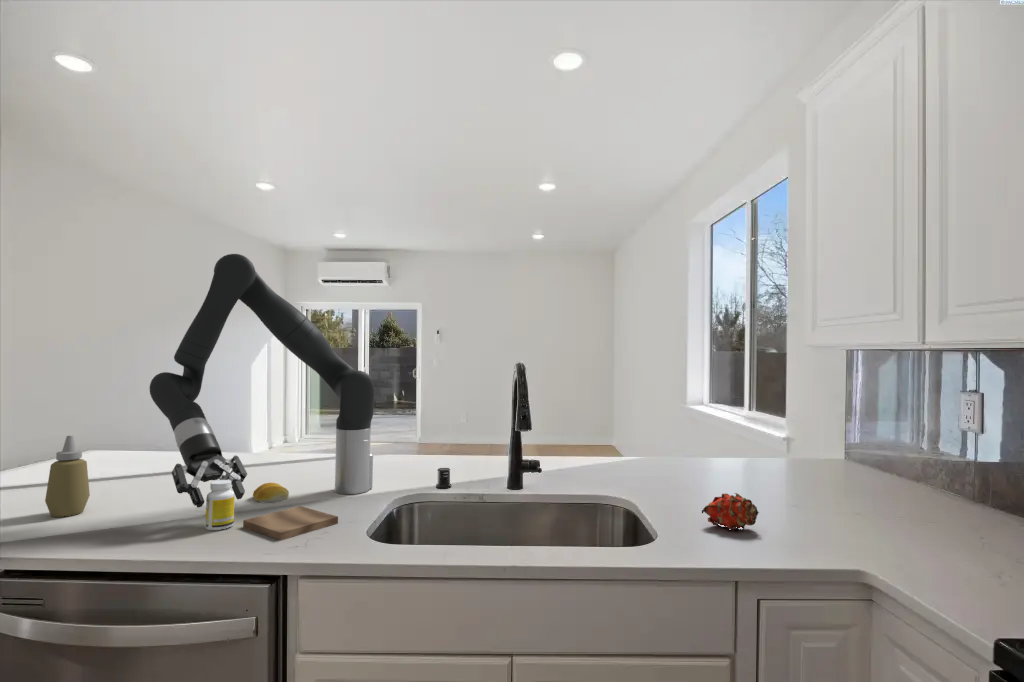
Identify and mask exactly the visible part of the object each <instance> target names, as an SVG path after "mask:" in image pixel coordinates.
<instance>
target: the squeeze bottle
mask: <svg viewBox="0 0 1024 682" xmlns="http://www.w3.org/2000/svg"><path fill="white" fill-rule="evenodd" d="M55 456H56V457H55V458H56V460H57V461H54V462H53V463H51V464H50V468H49V475H48V479H47V480H48V481H47V488H46V493H45V500H44V502H45V505H46V507H47V510H48V512H49V514H50V516H51V517H56V518H62V517H64V516H65V517H71V515H72V516H76V515H79V514H82V513H83V512H84V510H85V508H86V507H87V503H88V500H89V498H90V495H91V494H90V492H91V491H90V481H89V471H88V463H87V460H85V459H84V458H82V457H83V450H81V449H80V450H79V449H77V446H76V441H75V439H74V435H67V436H66V437H65V440H64V444H63V447H62V450H61V451H57V452H56V455H55Z"/></svg>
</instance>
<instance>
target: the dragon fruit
mask: <svg viewBox="0 0 1024 682" xmlns="http://www.w3.org/2000/svg"><path fill="white" fill-rule="evenodd" d="M734 495H735V496H734ZM734 495H733V494H732V495H730V494H728V493H721V496H715V497H714V498H713V500H712V501H711V502H709V503H708V504H707V505H705V506H704V508H702V510H701V514H703V513H704V514H706V515H707V516H709V517H708V518H707V522H708V523H711V524H713V526H716V525H718V524H720V525H724V526H728V527H727V529H728V528H729V529H735V530H737V529H736V527H737V528H740V527H742V528H744V529H745V526H746V525H747V526H754V525H755V524H756V520H757V518H758V515H759V514H760V512H759V510H758V508H757V506H756V505H755V504H754V503H753V501H752V500H751V499H748V498H746V497H743V496H741V495H740V494H739V493H737V492H735V493H734ZM733 527H734V528H733Z"/></svg>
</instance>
